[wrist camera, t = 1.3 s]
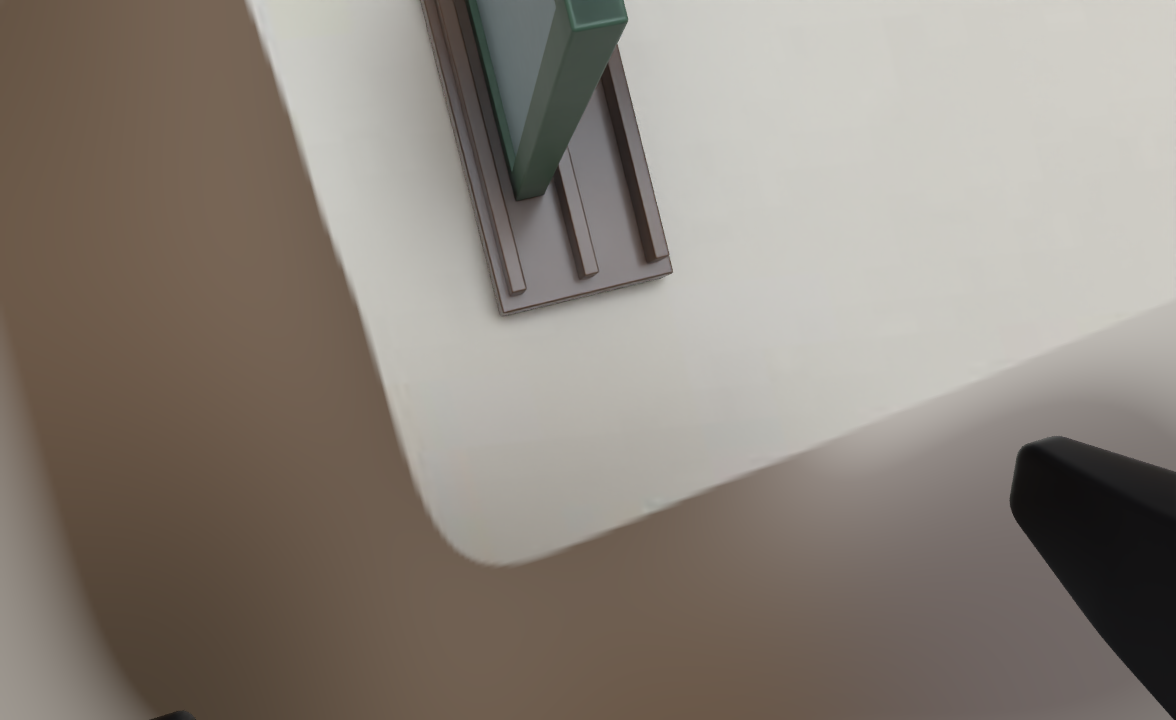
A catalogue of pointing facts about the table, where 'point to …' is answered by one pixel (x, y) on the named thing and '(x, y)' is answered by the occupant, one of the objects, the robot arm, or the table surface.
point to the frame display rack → (552, 185)
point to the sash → (542, 75)
